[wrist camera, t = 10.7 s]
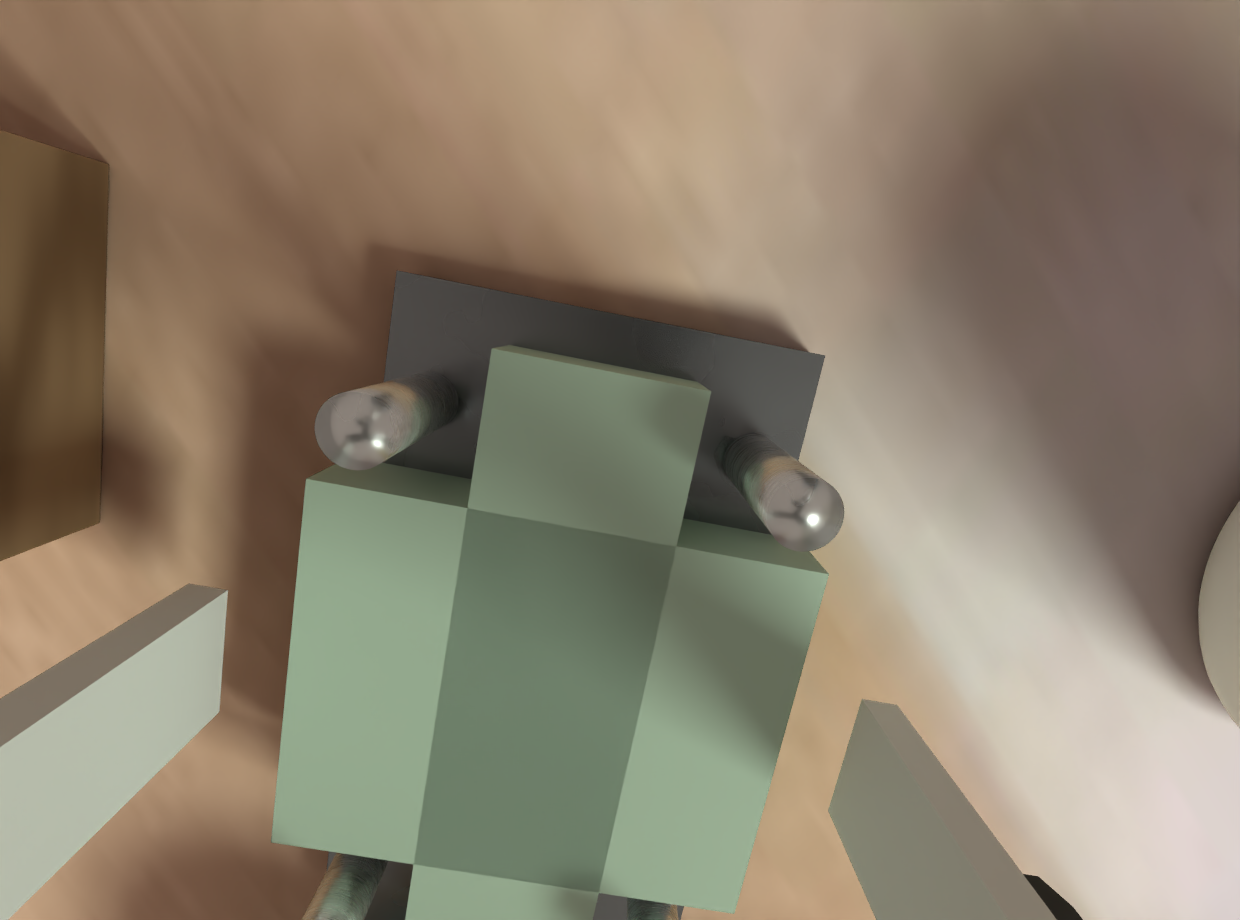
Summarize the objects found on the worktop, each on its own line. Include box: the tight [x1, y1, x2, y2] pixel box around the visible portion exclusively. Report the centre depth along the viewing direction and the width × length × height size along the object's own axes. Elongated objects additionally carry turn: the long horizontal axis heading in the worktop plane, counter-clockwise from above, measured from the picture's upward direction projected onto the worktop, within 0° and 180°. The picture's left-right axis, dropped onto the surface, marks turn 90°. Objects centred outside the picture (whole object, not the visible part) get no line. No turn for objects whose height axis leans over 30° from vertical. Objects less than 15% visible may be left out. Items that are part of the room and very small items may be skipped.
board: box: [271, 345, 829, 920], centre depth 14 cm, size 14×10×2 cm
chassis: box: [301, 271, 844, 920], centre depth 13 cm, size 16×9×5 cm, turn 169°
